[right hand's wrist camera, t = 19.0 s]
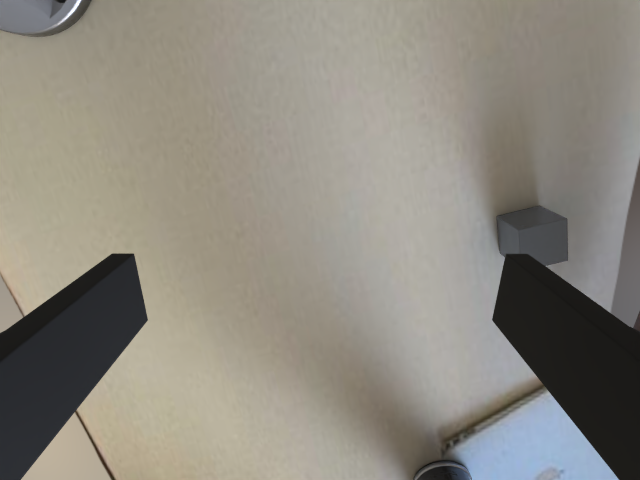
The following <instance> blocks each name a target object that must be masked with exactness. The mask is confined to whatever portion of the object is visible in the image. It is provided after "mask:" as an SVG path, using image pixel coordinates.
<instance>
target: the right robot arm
mask: <svg viewBox="0 0 640 480" xmlns="http://www.w3.org/2000/svg"><path fill="white" fill-rule="evenodd" d="M90 2H91V0H0V30H3V31H6V32H11V33H15V34H19V35H24V36H33V37H41V36H49V35H53V34H56V33H59V32H61V31H64V30H66V29H67V28H69V27H70V26H72V25H73V24H74V23H75V22H77V21H78V20H79V18H80V17H81V16H82V15H83V14H84V12H85V11H86V9H87V8H88V6H89V4H90ZM147 320H148V319H147V314H146V309H145V304H144V300H143V295H142V290H141V285H140V280H139V276H138V271H137V266H136V261H135V256H134V254H111V255H110V256H108V257H107V258H106V259H104V260H103V261H101V262H100V263H99V264H97V265H96V266H94V267H93V268H92V269H90V270H89V271H87V272H86V273H85V274H83V275H82V276H81V277H79V278H78V279H76V280H75V281H74V282H72V283H71V284H69V285H68V286H67V287H65V288H64V289H62V290H61V291H60V292H58V293H57V294H56V295H54V296H53V297H51V298H50V299H49V300H47V301H46V302H44V303H43V304H42V305H40V306H39V307H37V308H36V309H35V310H33V311H32V312H31V313H29V314H28V315H26V316H25V317H24V318H22V319H21V320H19V321H18V322H17V323H15V324H14V325H12V326H11V327H10V328H8V329H7V330H6V331H4V332H1V333H0V480H21V479H22V477H23V476H24V475H25V474H26V472H27V471H28V470H29V469H30V467H31V466H32V465H33V464H34V462H35V461H36V460H37V458H38V457H39V456H40V455H41V453H42V452H43V451H44V450H45V448H46V447H47V446H48V445H49V443H50V442H51V441H52V440H53V438H54V437H55V436H56V435H57V433H58V432H59V431H60V430H61V428H62V427H63V426H64V425H65V423H66V422H67V421H68V420H69V418H70V417H71V416H72V415H73V413H74V412H75V411H76V410H77V408H78V407H79V406H80V405H81V403H82V402H83V401H84V400H85V398H86V397H87V396H88V395H89V393H90V392H91V391H92V389H93V388H94V387H95V386H96V384H97V383H98V382H99V381H100V379H101V378H102V377H103V376H104V374H105V373H106V372H107V371H108V369H109V368H110V367H111V366H112V364H113V363H114V362H115V361H116V359H117V358H118V357H119V356H120V354H121V353H122V352H123V351H124V349H125V348H126V347H127V346H128V344H129V343H130V342H131V341H132V339H133V338H134V337H135V336H136V334H137V333H138V332H139V331H140V329H141V328H142V327H143V326H144V324H145V323H146V322H147ZM492 320H493V322H494V323H495V324H496V326H497V327H498V328H499V329H500V331H501V332H502V333H503V334H504V336H505V337H506V338H507V339H508V341H509V342H510V343H511V344H512V346H513V347H514V348H515V349H516V351H517V352H518V353H519V354H520V356H521V357H522V358H523V359H524V361H525V362H526V363H527V364H528V366H529V367H530V368H531V369H532V371H533V372H534V373H535V374H536V376H537V377H538V378H539V379H540V381H541V382H542V383H543V384H544V386H545V387H546V388H547V389H548V391H549V392H550V393H551V395H552V396H553V397H554V398H555V400H556V401H557V402H558V403H559V405H560V406H561V407H562V408H563V410H564V411H565V412H566V413H567V415H568V416H569V417H570V418H571V420H572V421H573V422H574V423H575V425H576V426H577V427H578V428H579V430H580V431H581V432H582V433H583V435H584V436H585V437H586V438H587V440H588V441H589V442H590V443H591V445H592V446H593V447H594V448H595V450H596V451H597V452H598V453H599V455H600V456H601V457H602V459H603V460H604V461H605V462H606V464H607V465H608V466H609V467H610V469H611V470H612V471H613V472H614V474H615V475H616V476H617V477H618V479H619V480H640V331H638V330H636V329H633V328H631V327H629V326H627V325H626V324H625V323H623V322H622V321H620V320H619V319H618V318H616V317H615V316H614V315H612V314H611V313H609V312H608V311H607V310H605V309H604V308H603V307H601V306H600V305H598V304H597V303H596V302H594V301H593V300H591V299H590V298H589V297H587V296H586V295H584V294H583V293H582V292H580V291H579V290H578V289H576V288H575V287H573V286H572V285H571V284H569V283H568V282H566V281H565V280H564V279H562V278H561V277H559V276H558V275H557V274H555V273H554V272H553V271H551V270H550V269H548V268H547V267H546V266H544V265H543V264H541V263H540V262H539V261H537V260H536V259H534V258H533V257H532V256H530V255H529V254H506V256H505V261H504V266H503V271H502V276H501V280H500V285H499V290H498V295H497V300H496V304H495V309H494V314H493V319H492Z"/></svg>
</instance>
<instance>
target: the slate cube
mask: <svg viewBox="0 0 640 480" xmlns="http://www.w3.org/2000/svg"><path fill="white" fill-rule="evenodd" d="M497 226H498V237H499V249H500V254H501V255H503V256H504V257H505V256H506V254H529V255H530V256H532V257H533V258H534V259H536V260H537V261H539V262H540V263H541V264H543V265H544V266H546V265H551V264H555V263H559V262H564V261H568V238H567V218H565V217H563V216H561V215H558V214H556V213H554V212H552V211H550V210H548V209H545V208H543V207H541V206H536V207H532V208H528V209H524V210H520V211H516V212H512V213H508V214H503V215H499V216H497Z"/></svg>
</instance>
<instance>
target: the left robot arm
mask: <svg viewBox="0 0 640 480" xmlns="http://www.w3.org/2000/svg"><path fill="white" fill-rule="evenodd" d="M414 480H472V478H471V476H470V473H469V471H468V470H467V469H466V468H465V467H464V466H462V465H461V464H458V463H455V462H449V461H441V462H435V463H432V464H429V465H427V466H425V467H423V468H422V469H421V470H420V471H419V472H418V473H417V474H416V475H415V477H414Z"/></svg>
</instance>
